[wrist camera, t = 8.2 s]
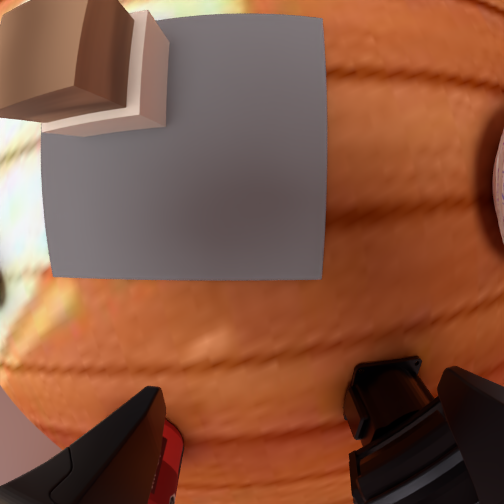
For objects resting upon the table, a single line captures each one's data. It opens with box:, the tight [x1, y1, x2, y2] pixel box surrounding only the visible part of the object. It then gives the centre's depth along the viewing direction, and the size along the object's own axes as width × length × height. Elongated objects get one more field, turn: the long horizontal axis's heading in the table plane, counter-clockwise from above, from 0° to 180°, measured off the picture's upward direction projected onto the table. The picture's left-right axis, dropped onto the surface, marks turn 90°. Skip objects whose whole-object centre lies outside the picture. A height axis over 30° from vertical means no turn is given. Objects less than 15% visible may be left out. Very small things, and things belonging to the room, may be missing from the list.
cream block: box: [42, 10, 170, 137], centre depth 14 cm, size 6×6×5 cm
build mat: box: [41, 14, 327, 280], centre depth 18 cm, size 20×18×1 cm
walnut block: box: [0, 0, 134, 123], centre depth 9 cm, size 5×5×5 cm
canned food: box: [147, 420, 184, 504], centre depth 20 cm, size 8×8×11 cm
